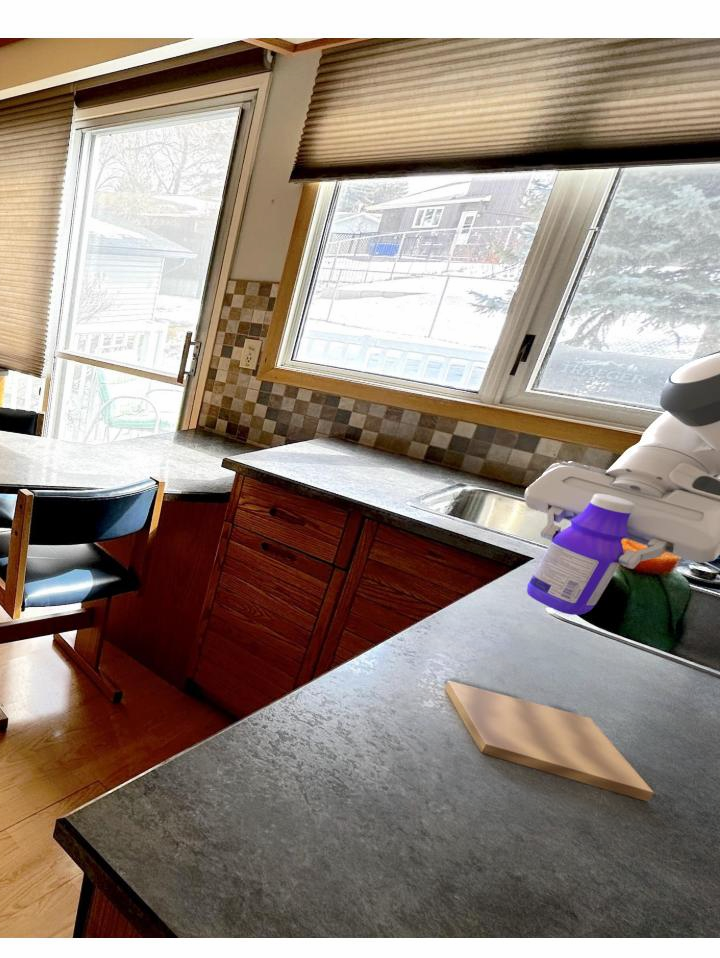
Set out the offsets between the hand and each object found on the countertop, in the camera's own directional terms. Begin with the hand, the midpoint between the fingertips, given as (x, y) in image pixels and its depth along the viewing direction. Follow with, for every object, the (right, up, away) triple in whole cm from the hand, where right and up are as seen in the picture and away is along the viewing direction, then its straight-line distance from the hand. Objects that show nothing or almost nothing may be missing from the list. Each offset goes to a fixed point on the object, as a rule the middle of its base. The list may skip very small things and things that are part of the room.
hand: (584, 550), depth 88 cm
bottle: (0, -9, +4) cm, 10 cm away
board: (-14, -24, -7) cm, 29 cm away
